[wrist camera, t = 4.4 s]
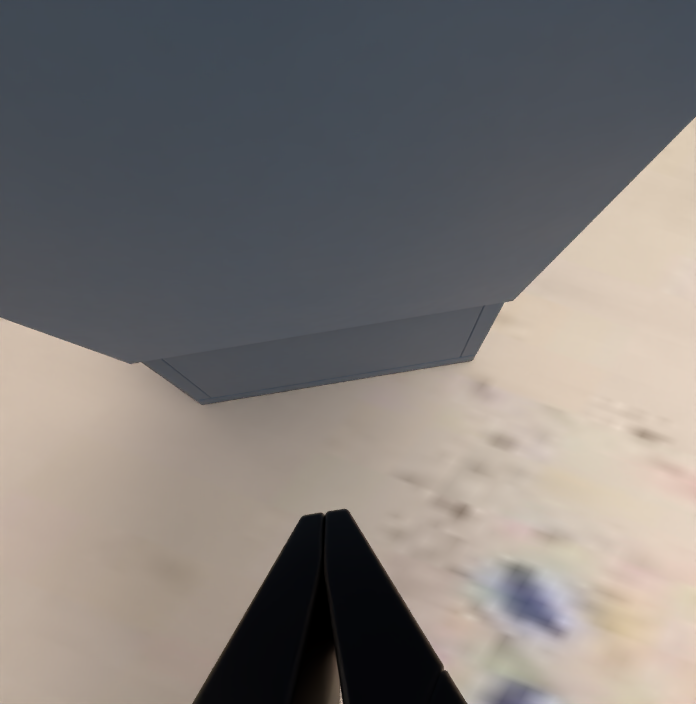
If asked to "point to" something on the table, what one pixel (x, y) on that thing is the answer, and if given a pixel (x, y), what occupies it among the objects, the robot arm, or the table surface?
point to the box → (329, 356)
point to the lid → (313, 157)
